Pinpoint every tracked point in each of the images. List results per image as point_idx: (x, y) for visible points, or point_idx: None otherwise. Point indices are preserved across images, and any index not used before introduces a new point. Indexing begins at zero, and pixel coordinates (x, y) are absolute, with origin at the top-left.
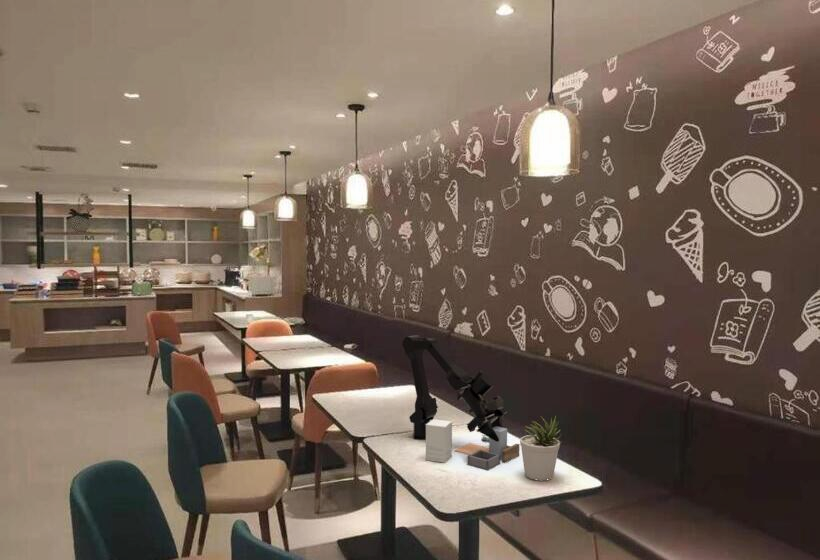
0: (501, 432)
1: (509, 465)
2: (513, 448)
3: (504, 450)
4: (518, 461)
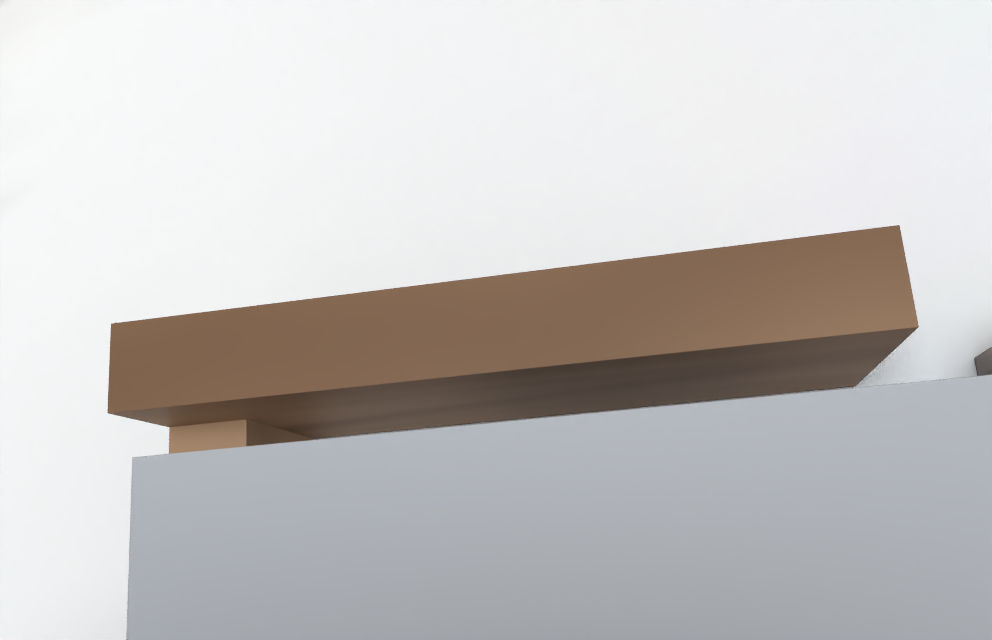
0: (866, 400)
1: (886, 167)
2: (430, 294)
3: (852, 290)
4: (549, 188)
